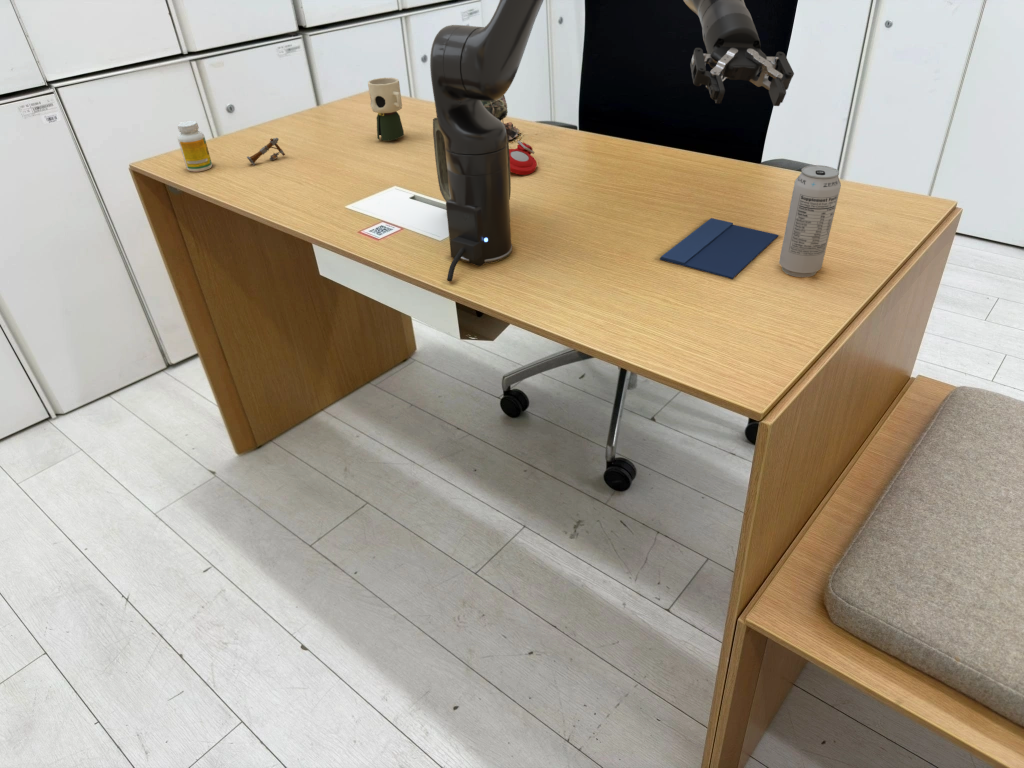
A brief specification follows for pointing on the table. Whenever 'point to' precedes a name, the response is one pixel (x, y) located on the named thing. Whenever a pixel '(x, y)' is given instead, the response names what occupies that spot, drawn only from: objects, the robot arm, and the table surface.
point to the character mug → (386, 107)
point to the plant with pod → (501, 114)
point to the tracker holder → (522, 159)
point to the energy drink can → (809, 220)
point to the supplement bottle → (193, 147)
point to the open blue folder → (719, 248)
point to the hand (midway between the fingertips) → (750, 99)
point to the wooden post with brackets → (264, 150)
